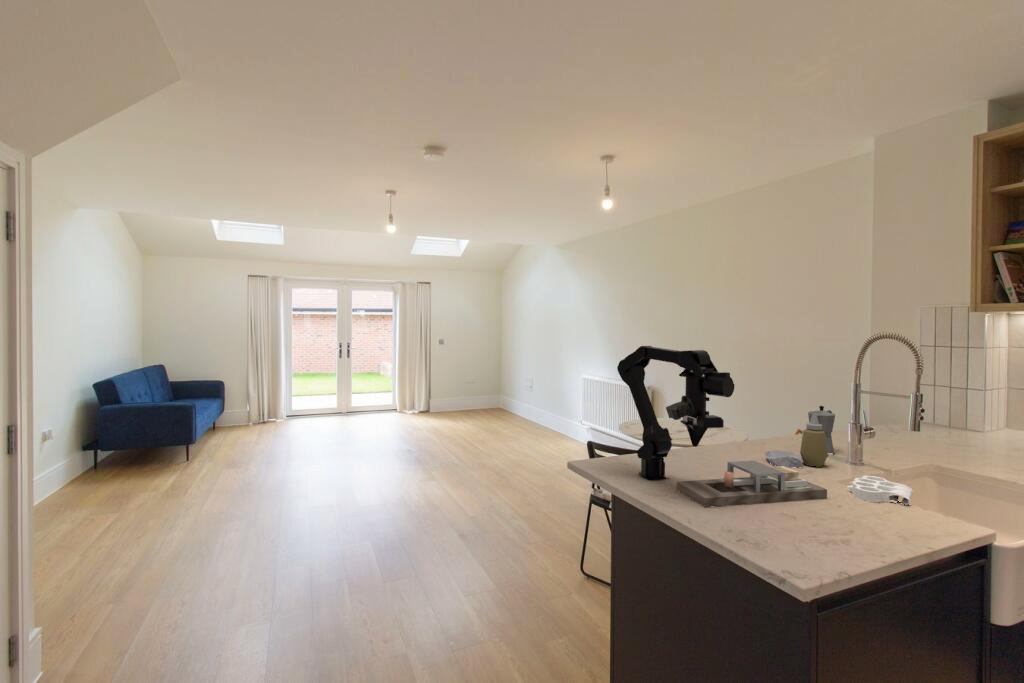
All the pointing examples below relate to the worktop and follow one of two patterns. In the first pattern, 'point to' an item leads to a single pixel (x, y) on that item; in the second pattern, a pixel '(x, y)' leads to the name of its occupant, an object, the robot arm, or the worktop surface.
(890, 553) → the worktop surface
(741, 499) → the deck
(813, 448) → the squeeze bottle
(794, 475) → the block
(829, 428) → the coffeepot
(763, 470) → the tunnel
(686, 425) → the robot arm
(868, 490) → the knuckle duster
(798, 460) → the stone block
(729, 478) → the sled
